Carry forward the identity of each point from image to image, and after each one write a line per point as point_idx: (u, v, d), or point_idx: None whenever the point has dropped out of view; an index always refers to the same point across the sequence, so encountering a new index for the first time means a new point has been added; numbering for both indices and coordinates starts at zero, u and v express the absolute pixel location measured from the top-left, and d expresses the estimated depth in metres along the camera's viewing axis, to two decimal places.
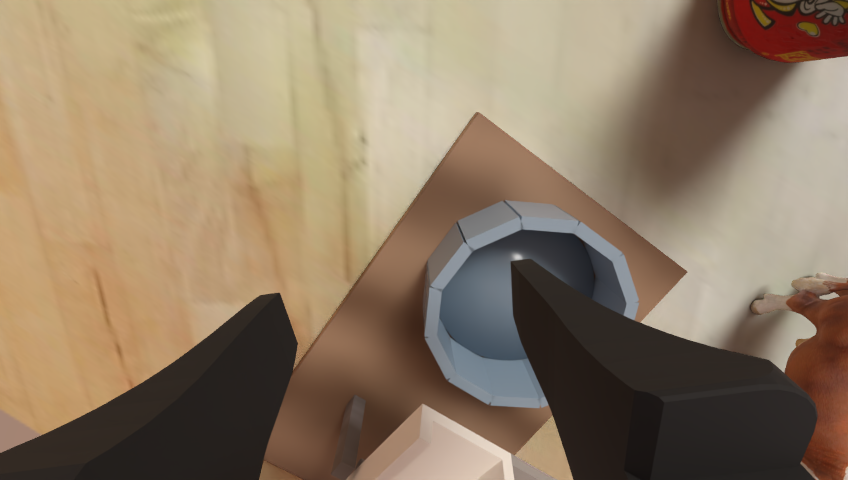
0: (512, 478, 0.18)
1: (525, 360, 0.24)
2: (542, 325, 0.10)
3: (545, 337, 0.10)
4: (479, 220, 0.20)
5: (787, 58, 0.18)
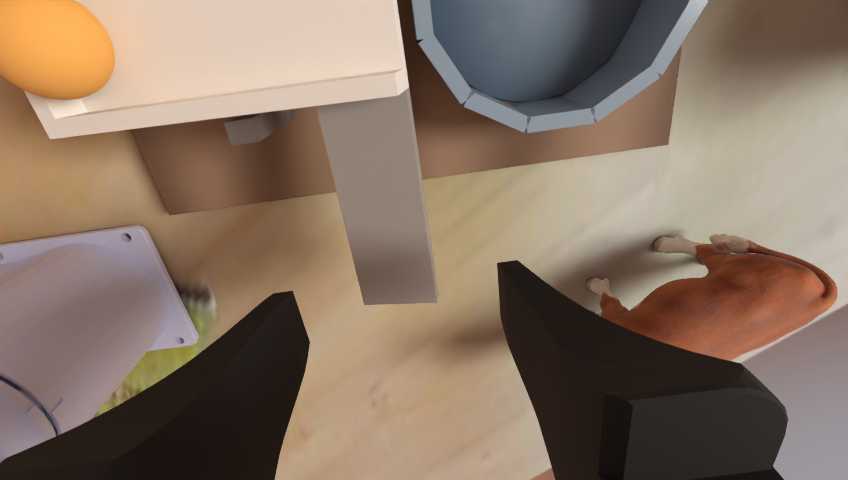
0: (401, 89, 0.12)
1: None
2: (526, 327, 0.10)
3: (528, 339, 0.10)
4: None
5: None
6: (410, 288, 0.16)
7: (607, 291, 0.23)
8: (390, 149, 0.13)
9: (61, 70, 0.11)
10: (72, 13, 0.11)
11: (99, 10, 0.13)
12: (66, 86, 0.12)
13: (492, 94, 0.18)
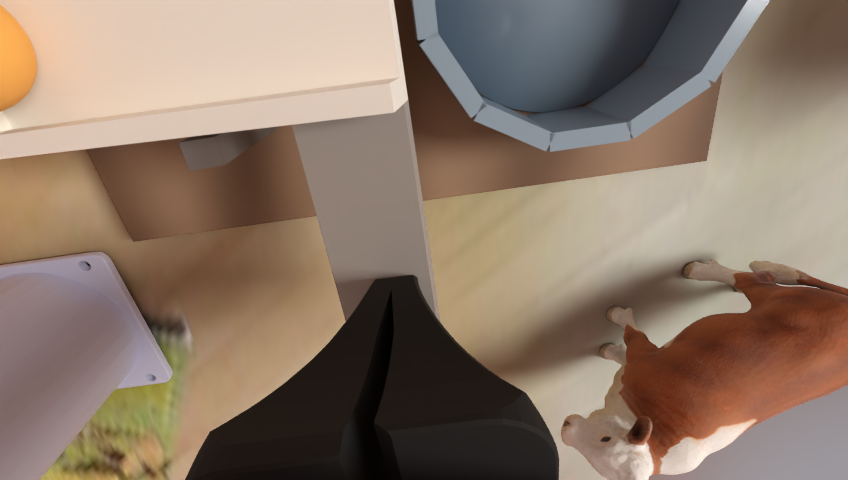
0: (397, 104, 0.09)
1: None
2: None
3: None
4: None
5: None
6: None
7: (631, 323, 0.21)
8: (385, 176, 0.11)
9: None
10: None
11: (15, 3, 0.10)
12: None
13: (505, 103, 0.16)
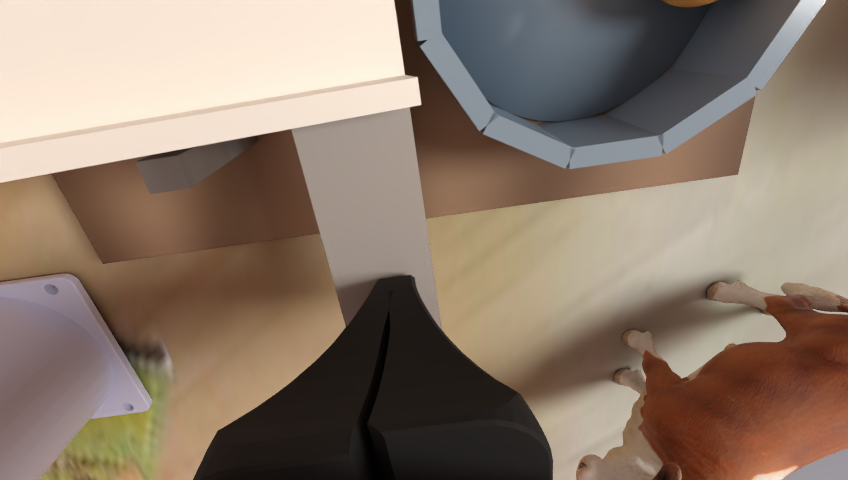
0: None
1: None
2: None
3: None
4: None
5: None
6: None
7: (650, 349, 0.19)
8: (390, 173, 0.11)
9: None
10: None
11: None
12: None
13: (516, 111, 0.14)
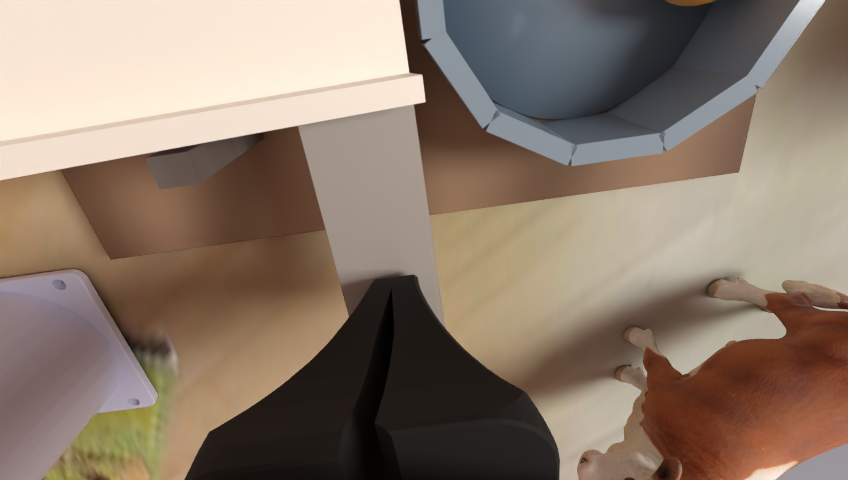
0: None
1: None
2: None
3: None
4: None
5: None
6: None
7: (651, 346, 0.19)
8: (394, 169, 0.11)
9: None
10: None
11: None
12: None
13: (518, 109, 0.14)
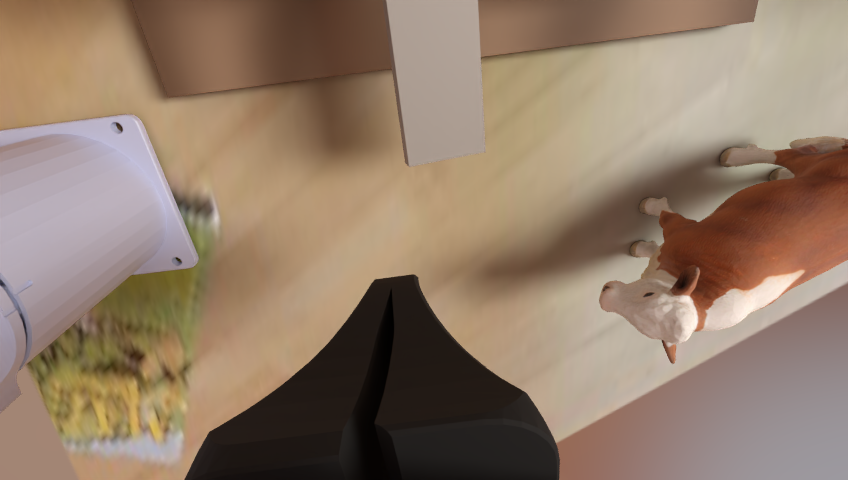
0: None
1: None
2: None
3: None
4: None
5: None
6: (460, 137, 0.15)
7: (666, 209, 0.20)
8: None
9: None
10: None
11: None
12: None
13: None
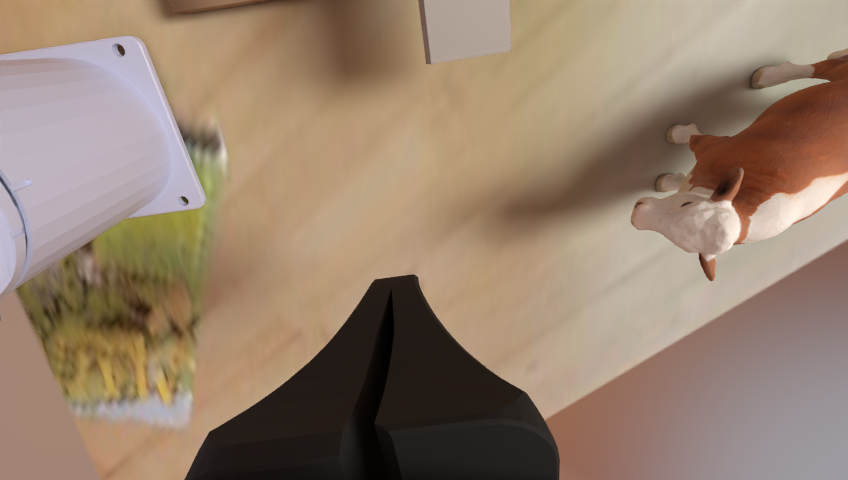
0: None
1: None
2: None
3: None
4: None
5: None
6: (485, 32, 0.14)
7: (696, 133, 0.19)
8: None
9: None
10: None
11: None
12: None
13: None
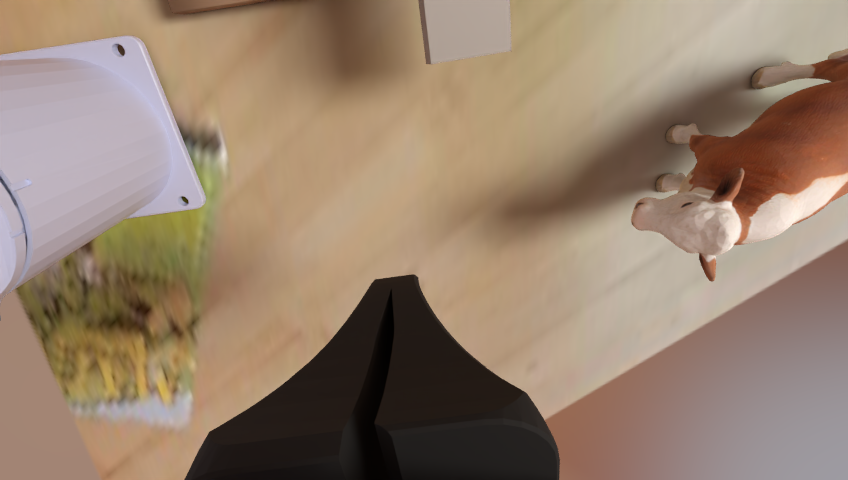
0: None
1: None
2: None
3: None
4: None
5: None
6: (485, 32, 0.14)
7: (697, 133, 0.19)
8: None
9: None
10: None
11: None
12: None
13: None
